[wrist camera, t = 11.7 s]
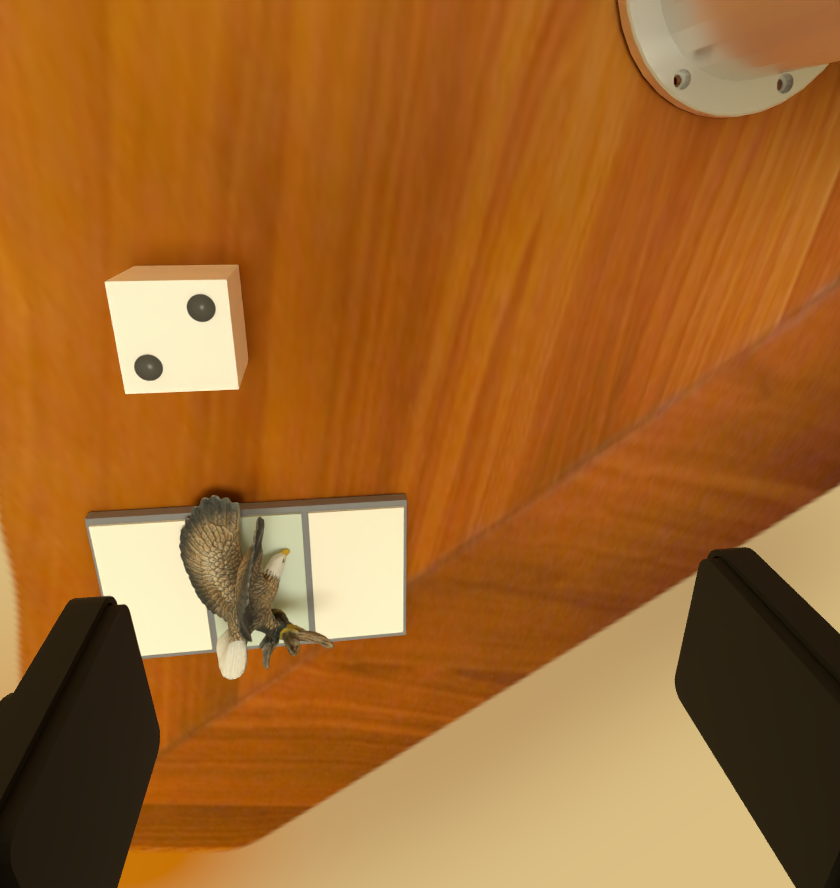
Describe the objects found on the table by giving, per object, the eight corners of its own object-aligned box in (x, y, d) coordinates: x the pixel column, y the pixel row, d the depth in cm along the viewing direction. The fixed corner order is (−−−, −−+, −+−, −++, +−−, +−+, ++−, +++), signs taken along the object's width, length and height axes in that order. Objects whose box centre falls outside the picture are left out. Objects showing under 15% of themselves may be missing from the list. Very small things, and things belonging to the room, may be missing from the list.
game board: (404, 493, 38) (407, 501, 38) (404, 627, 42) (406, 636, 41) (89, 512, 36) (83, 520, 35) (119, 652, 40) (115, 663, 39)
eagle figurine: (361, 587, 38) (288, 483, 33) (311, 700, 33) (216, 599, 28) (264, 583, 42) (184, 488, 36) (206, 684, 37) (105, 592, 32)
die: (238, 264, 32) (226, 279, 27) (248, 360, 34) (238, 389, 29) (134, 265, 31) (103, 281, 27) (150, 363, 33) (124, 394, 29)
